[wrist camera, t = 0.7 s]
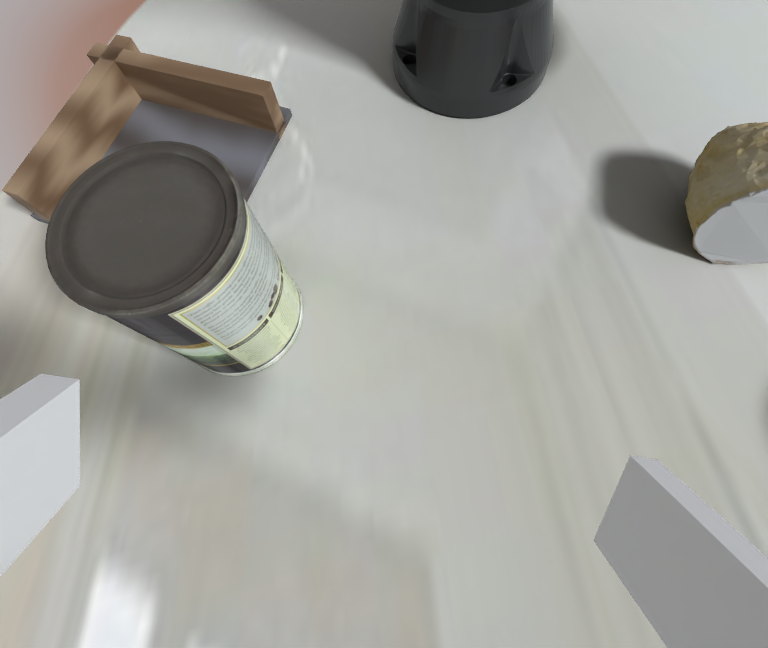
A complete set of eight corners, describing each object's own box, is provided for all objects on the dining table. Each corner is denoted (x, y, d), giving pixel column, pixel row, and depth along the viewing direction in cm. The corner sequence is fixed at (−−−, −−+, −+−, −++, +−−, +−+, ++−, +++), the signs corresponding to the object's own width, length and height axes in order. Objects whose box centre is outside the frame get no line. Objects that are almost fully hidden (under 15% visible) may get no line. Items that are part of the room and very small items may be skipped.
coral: (711, 244, 28) (751, 83, 27) (651, 259, 37) (679, 142, 37) (892, 269, 26) (942, 95, 25) (778, 277, 35) (810, 154, 35)
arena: (136, 78, 45) (104, 31, 40) (292, 115, 42) (277, 70, 37) (38, 220, 40) (-12, 186, 35) (208, 274, 37) (179, 244, 32)
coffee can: (191, 394, 33) (47, 341, 20) (173, 280, 37) (39, 170, 24) (319, 354, 34) (259, 275, 21) (289, 245, 37) (222, 117, 24)
